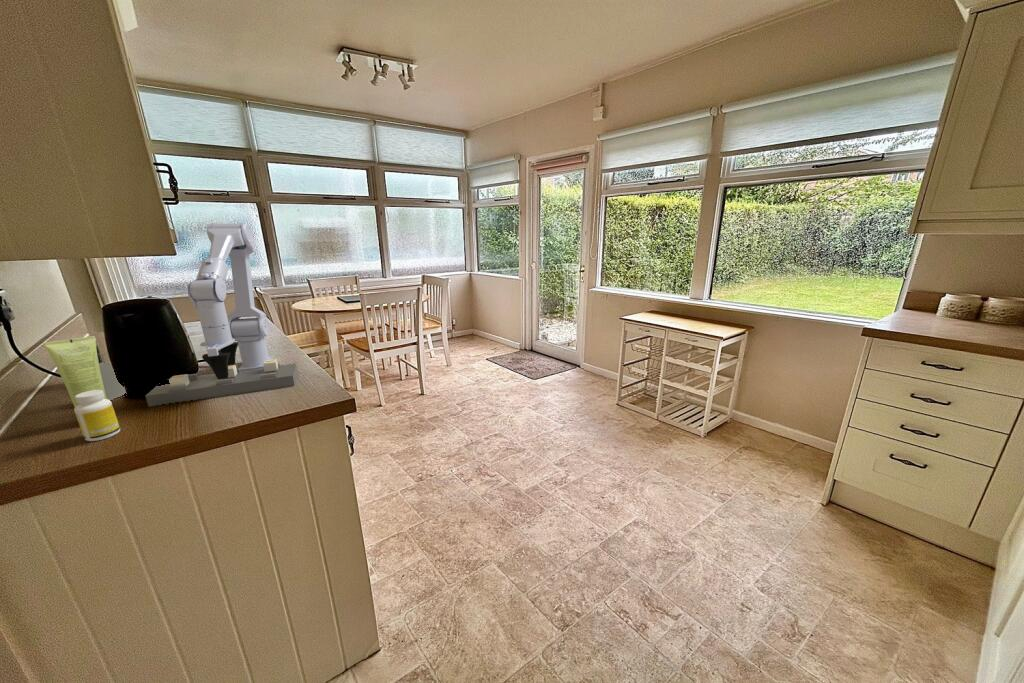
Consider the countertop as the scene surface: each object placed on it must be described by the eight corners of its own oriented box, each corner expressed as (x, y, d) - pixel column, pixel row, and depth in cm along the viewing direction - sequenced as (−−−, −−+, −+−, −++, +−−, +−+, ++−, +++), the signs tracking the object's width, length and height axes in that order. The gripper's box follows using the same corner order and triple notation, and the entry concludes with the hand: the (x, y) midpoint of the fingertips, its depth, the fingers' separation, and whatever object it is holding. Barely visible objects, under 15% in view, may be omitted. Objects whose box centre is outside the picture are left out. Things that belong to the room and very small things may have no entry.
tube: (99, 413, 91) (71, 335, 86) (120, 413, 91) (94, 335, 86) (73, 425, 86) (42, 342, 80) (96, 425, 86) (67, 342, 80)
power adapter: (95, 402, 97) (79, 358, 94) (117, 394, 102) (103, 351, 99) (106, 403, 97) (91, 358, 93) (128, 394, 102) (114, 351, 99)
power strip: (166, 390, 104) (162, 376, 103) (298, 372, 116) (295, 360, 115) (148, 406, 94) (144, 392, 93) (294, 385, 107) (292, 372, 106)
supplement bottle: (128, 429, 84) (114, 388, 81) (100, 442, 79) (84, 399, 76) (106, 428, 84) (92, 387, 82) (77, 441, 79) (61, 398, 76)
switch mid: (224, 374, 106) (222, 366, 106) (237, 373, 108) (235, 364, 107) (221, 378, 104) (219, 369, 103) (235, 376, 105) (233, 367, 104)
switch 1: (175, 384, 100) (173, 375, 99) (189, 382, 101) (187, 373, 100) (171, 389, 97) (168, 379, 96) (185, 387, 98) (183, 377, 97)
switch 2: (266, 368, 111) (264, 360, 110) (278, 367, 112) (276, 358, 111) (264, 372, 108) (263, 363, 108) (277, 370, 109) (275, 361, 109)
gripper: (205, 321, 104) (216, 367, 108) (186, 333, 92) (200, 385, 96) (235, 318, 107) (245, 363, 111) (222, 330, 94) (233, 381, 98)
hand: (226, 373), depth 104 cm, fingers open, 7 cm apart
